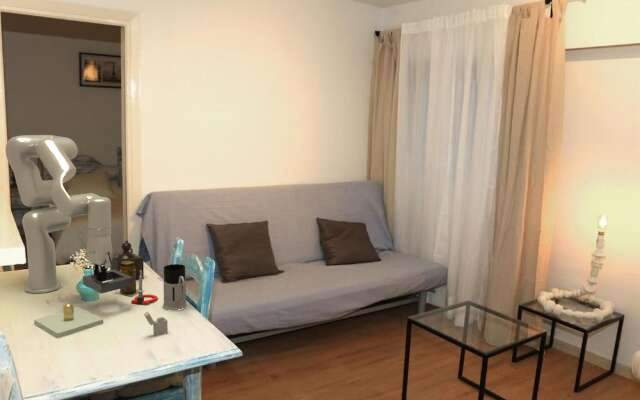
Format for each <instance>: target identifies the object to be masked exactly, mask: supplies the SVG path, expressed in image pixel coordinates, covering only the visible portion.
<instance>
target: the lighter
mask: <svg viewBox="0 0 640 400" xmlns="http://www.w3.org/2000/svg"><path fill="white" fill-rule="evenodd" d="M143 315H144V317H145V319H146V320H147V322H148V324H149V325H150V326H152V325H153V329H152V330H153V335H154V336H160V335H165V334H167V333H168V331H169V330H168V327H169V325H168V319H167V318H165V317H163V316H161V317H157V318H156V320H154V319H153V317H152V316H151V314H150V313H149V311H146V312H145V313H144V314H143Z"/></svg>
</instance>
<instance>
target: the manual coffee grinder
mask: <svg viewBox="0 0 640 400" xmlns="http://www.w3.org/2000/svg"><path fill="white" fill-rule="evenodd" d="M121 249H122V252H121V253H117V255H112V262H111V263H110V264H111V267H110V268H109V270H113V269H115V270H117V271H119V272H120V269H121V268H120V267H121V266H120V264H121V263H122V262H124V261H133V262H135V269H136V282H137V281H139V276H140V270H142V280H143V279H144V274H145V273H144V270H145V269H144V263H145V262H144V257H142V256H140V255H138V254H135V253H134V249H133V248H132V244H131V242H129V241H128V240H125V241H124V243H122V244H121Z"/></svg>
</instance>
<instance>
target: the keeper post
mask: <svg viewBox="0 0 640 400" xmlns="http://www.w3.org/2000/svg"><path fill="white" fill-rule="evenodd" d="M73 309H74V306H73V304H72V303H70V302H69V303H66V304H64V305H63V307H62V310H63V311H62V312H63V314H64V321H72V320H74V311H73Z"/></svg>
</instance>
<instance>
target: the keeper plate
mask: <svg viewBox="0 0 640 400" xmlns="http://www.w3.org/2000/svg"><path fill="white" fill-rule="evenodd" d="M73 311H74V320H72V321H64V314H63V311H60V312H56V313H52V314H49V315H46V316H43V317H38V318H35V319H33V323H34V325H35V326H37V327H39V328H40V329H42V330H43V331H45V332H47V333H49V334H50V335H52V336H53V337H55V338H57V339H60V338H63V337H65V336H69V335H72V334H74V333H78V332H81V331H84V330H87V329H91V328H94V327H96V326H99V325H103V324H104V319H103V318H102V317H100V316H97V315H95V314H94V313H91V312H89V311H87V310H86V309H83V308H82V307H79V306H77V307H75V308H74V307H73Z"/></svg>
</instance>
